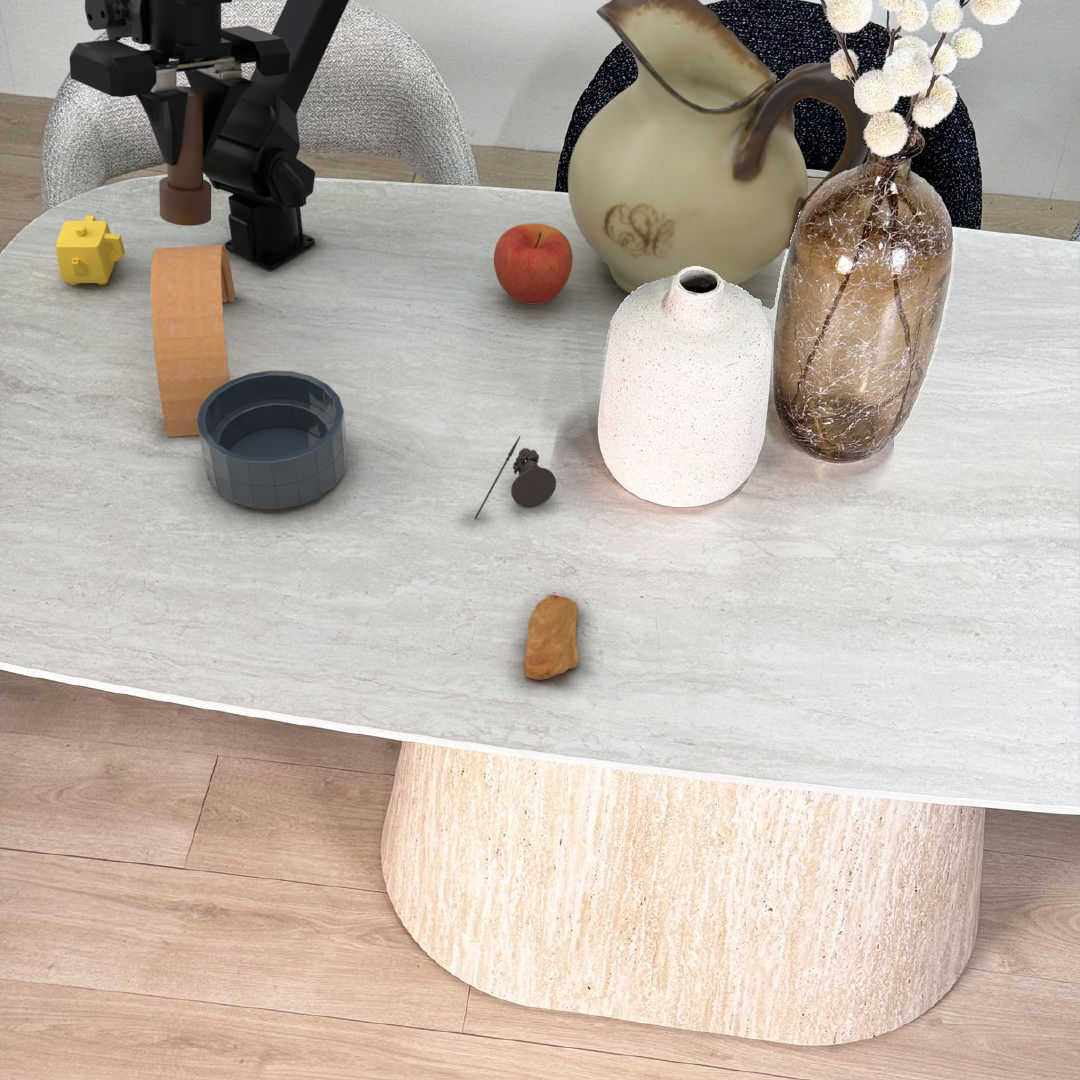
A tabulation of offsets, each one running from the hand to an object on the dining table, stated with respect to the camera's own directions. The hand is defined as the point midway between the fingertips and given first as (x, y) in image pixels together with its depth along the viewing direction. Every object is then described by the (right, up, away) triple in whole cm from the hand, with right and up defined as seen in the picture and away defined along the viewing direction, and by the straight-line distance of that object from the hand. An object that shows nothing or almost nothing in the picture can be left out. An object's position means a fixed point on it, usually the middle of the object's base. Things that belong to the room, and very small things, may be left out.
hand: (186, 161), depth 110 cm
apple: (+30, -10, +11) cm, 33 cm away
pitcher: (+45, -6, +16) cm, 48 cm away
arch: (+1, -17, +2) cm, 17 cm away
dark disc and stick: (+30, -29, -11) cm, 43 cm away
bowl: (+9, -27, -7) cm, 29 cm away
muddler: (-1, -4, +3) cm, 5 cm away
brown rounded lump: (+29, -39, -19) cm, 52 cm away
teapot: (-12, -8, +11) cm, 18 cm away
